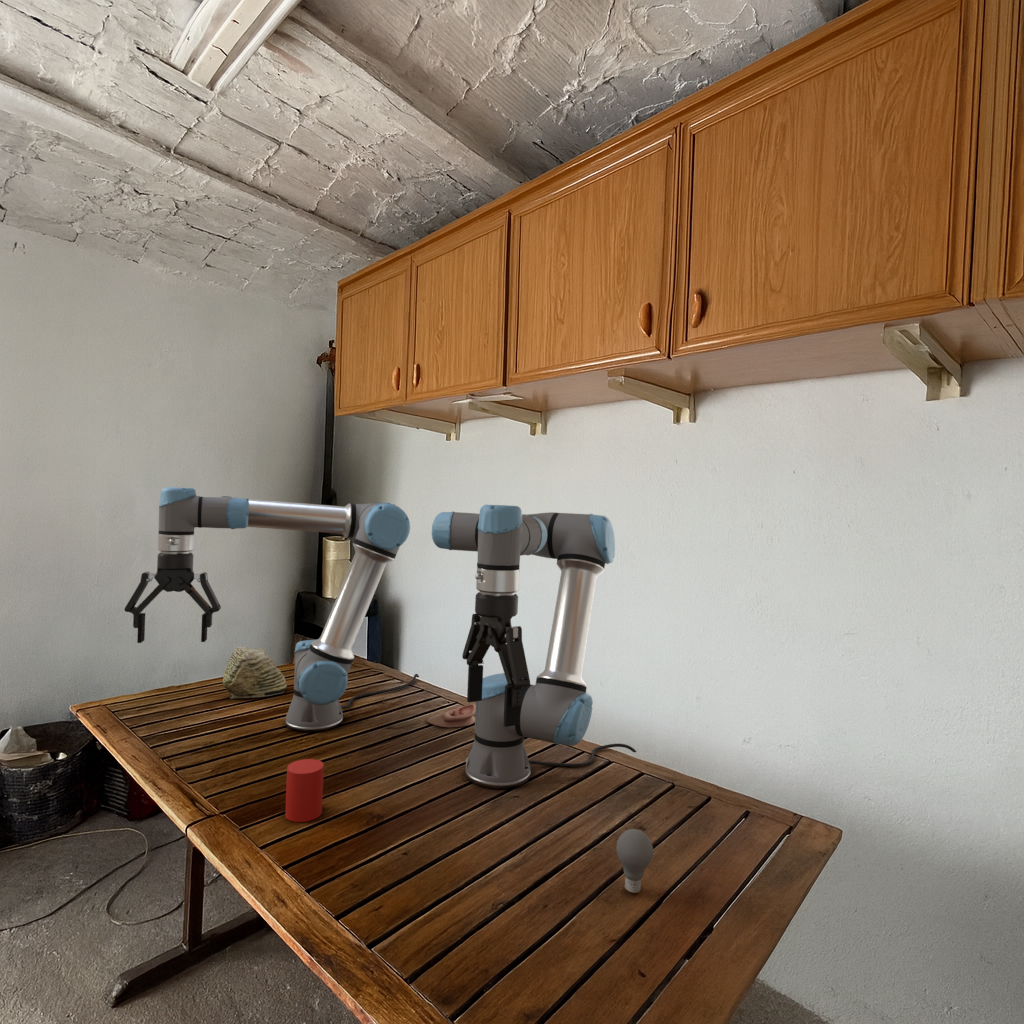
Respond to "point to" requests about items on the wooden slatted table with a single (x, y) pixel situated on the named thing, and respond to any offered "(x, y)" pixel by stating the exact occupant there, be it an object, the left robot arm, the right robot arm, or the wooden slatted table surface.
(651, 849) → the light bulb
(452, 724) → the anatomical model
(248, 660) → the fossil
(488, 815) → the wooden slatted table surface
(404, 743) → the wooden slatted table surface
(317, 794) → the cylinder
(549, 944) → the wooden slatted table surface
